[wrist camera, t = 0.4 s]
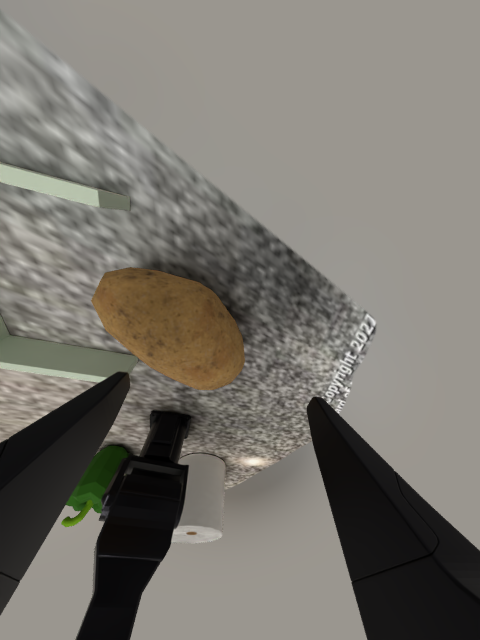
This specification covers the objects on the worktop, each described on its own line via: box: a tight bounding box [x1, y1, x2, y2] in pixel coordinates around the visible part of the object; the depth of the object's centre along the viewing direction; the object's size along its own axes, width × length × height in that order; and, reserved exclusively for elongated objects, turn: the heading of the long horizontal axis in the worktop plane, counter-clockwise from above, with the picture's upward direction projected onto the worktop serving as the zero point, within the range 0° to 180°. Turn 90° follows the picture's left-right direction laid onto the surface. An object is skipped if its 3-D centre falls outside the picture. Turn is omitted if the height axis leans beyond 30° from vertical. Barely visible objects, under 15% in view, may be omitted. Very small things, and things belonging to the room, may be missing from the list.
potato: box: [91, 267, 245, 390], centre depth 17 cm, size 10×14×8 cm
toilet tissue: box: [171, 453, 226, 543], centre depth 35 cm, size 11×12×10 cm
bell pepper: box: [62, 446, 129, 527], centre depth 31 cm, size 8×8×10 cm
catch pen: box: [0, 162, 138, 382], centre depth 16 cm, size 19×16×5 cm
